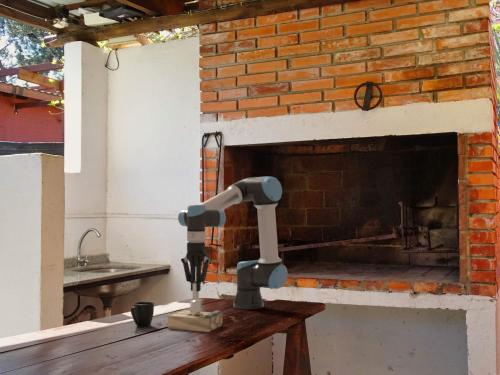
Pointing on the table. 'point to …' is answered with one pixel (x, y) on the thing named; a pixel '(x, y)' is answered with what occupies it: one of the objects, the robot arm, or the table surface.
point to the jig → (195, 321)
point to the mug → (142, 313)
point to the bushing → (195, 308)
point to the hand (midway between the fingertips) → (195, 299)
